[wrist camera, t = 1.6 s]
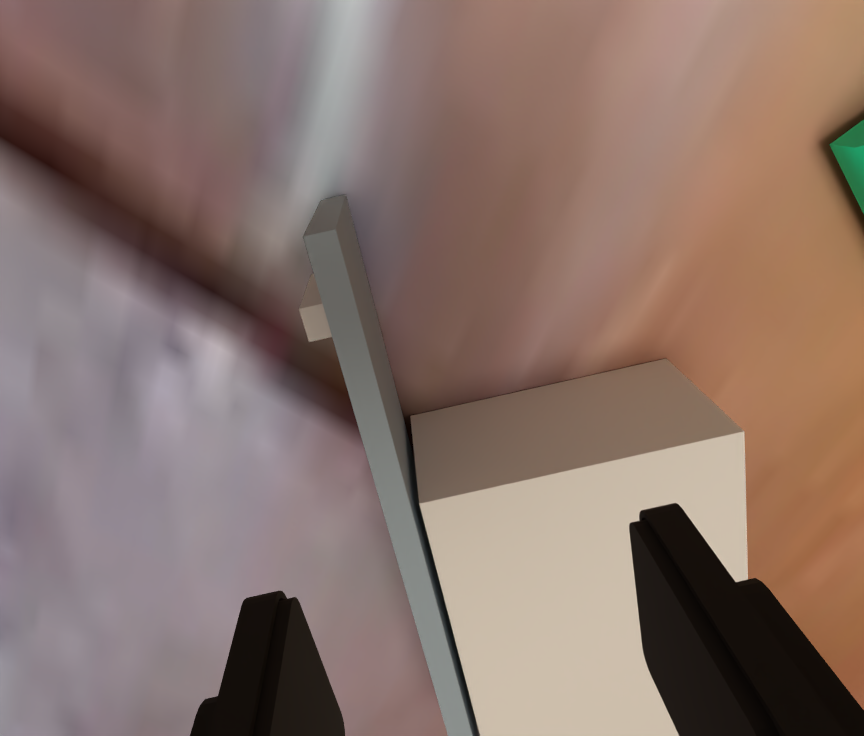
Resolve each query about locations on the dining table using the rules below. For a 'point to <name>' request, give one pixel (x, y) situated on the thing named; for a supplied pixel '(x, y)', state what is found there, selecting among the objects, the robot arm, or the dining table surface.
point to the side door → (382, 438)
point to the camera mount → (852, 159)
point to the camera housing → (569, 538)
